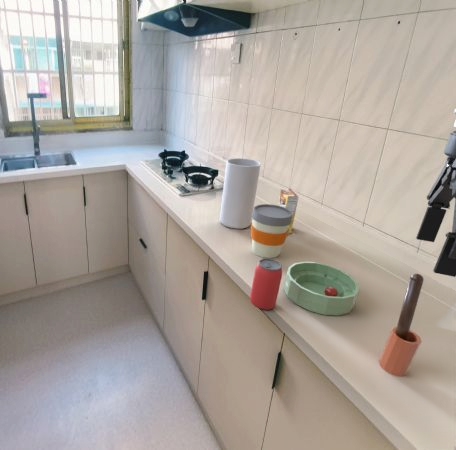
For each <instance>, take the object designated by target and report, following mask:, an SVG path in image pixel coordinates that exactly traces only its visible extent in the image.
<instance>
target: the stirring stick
mask: <svg viewBox="0 0 456 450" xmlns="http://www.w3.org/2000/svg"><path fill="white" fill-rule="evenodd" d="M424 280H425V278H424V276H423V275H422V274H420V273H412V274H411V275H410V277H409V280H408V284H407V288H406V291H405V295H404V298H403V302H402V307H401V310H400V314H399V317H398V322H397V325H396V327H397V328H396V335H397V336H399V337H400V338H401V339H403V340H405V341H406V340H407V337H408V333H409V330H411V326H412V323H413V319H414V316H415V312H416V309H417V305H418V302H419V298H420V295H421V291H422V288H423V284H424Z"/></svg>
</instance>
